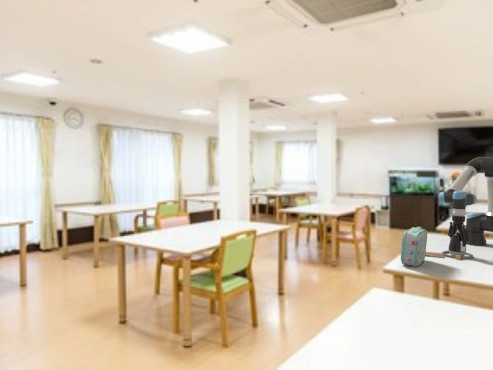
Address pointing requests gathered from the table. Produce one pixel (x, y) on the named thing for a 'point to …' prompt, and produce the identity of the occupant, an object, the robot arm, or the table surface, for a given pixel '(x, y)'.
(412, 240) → the lunch box
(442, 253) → the collar
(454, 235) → the black rounded piece
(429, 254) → the coaster
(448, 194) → the robot arm
